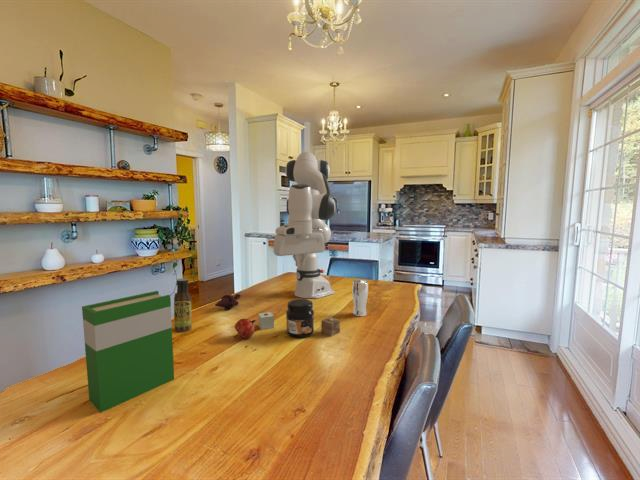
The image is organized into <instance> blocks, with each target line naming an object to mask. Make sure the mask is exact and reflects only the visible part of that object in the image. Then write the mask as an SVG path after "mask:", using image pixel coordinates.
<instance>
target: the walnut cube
mask: <svg viewBox="0 0 640 480" xmlns="http://www.w3.org/2000/svg"><path fill="white" fill-rule="evenodd" d="M340 331H341V320H340V319H338V318H334V317H331V316H329V317H326V318H324V319H321V334H324V335H326V336H329V337H333V336H335V335H337V334H340Z"/></svg>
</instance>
